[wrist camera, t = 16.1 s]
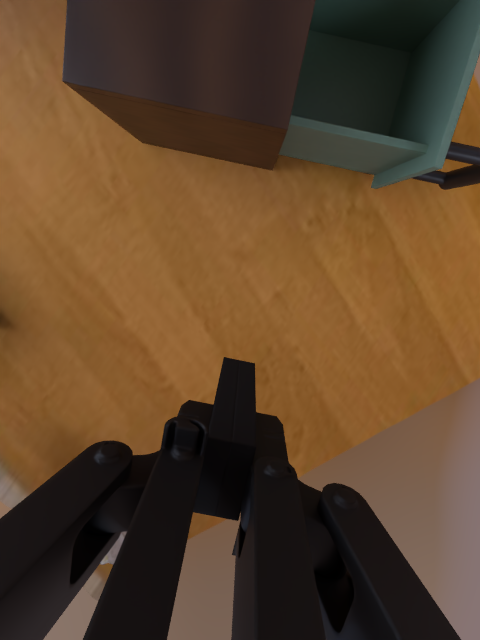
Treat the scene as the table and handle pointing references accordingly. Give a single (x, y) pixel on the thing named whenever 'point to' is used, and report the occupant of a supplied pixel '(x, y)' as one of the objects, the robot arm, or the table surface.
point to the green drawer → (387, 89)
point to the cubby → (192, 71)
